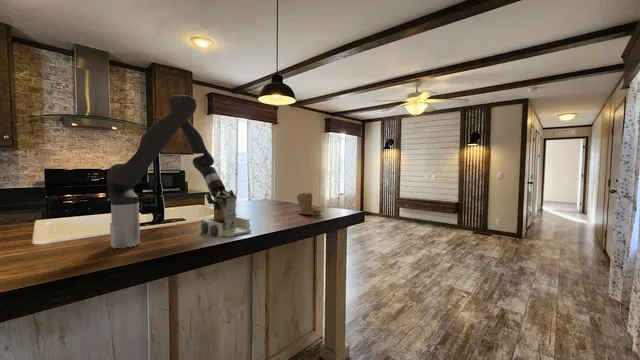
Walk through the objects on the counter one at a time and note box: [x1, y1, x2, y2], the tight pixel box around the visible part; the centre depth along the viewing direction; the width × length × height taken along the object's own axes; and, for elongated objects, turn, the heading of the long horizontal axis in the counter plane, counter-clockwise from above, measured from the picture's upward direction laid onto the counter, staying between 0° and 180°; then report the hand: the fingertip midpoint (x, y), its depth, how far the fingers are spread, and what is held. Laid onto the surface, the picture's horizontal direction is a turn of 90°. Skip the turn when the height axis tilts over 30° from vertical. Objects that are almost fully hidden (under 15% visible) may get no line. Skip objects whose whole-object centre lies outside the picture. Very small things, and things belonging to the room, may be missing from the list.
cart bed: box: [200, 215, 252, 238], centre depth 137 cm, size 19×21×6 cm
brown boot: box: [296, 191, 322, 216], centre depth 187 cm, size 15×12×15 cm
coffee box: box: [213, 195, 237, 230], centre depth 138 cm, size 9×6×16 cm
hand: (226, 208), depth 137 cm, fingers open, 8 cm apart
